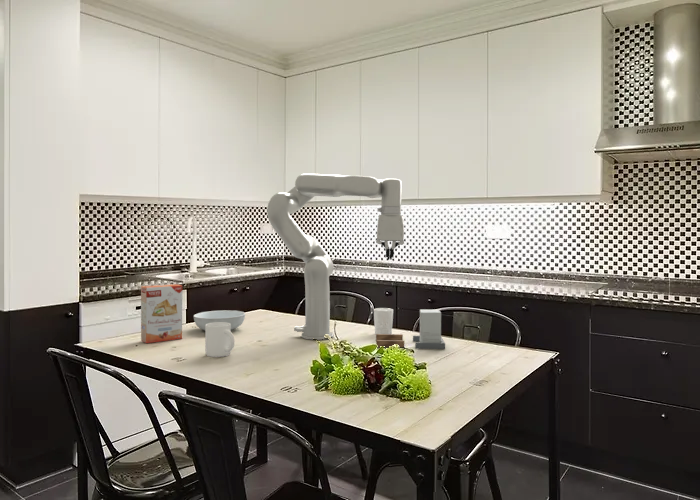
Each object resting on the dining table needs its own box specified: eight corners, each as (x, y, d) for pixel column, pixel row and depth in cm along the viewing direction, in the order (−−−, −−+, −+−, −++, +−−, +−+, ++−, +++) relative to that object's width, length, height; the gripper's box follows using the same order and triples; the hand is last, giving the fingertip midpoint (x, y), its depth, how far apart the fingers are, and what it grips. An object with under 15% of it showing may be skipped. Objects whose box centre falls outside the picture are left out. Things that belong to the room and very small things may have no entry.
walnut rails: (376, 347, 193) (376, 340, 193) (376, 340, 205) (376, 334, 205) (404, 348, 193) (404, 341, 193) (402, 340, 205) (402, 334, 205)
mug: (243, 355, 180) (243, 325, 180) (223, 360, 173) (223, 328, 173) (220, 350, 187) (219, 321, 187) (200, 355, 181) (200, 324, 180)
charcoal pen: (415, 348, 192) (415, 342, 192) (412, 340, 205) (412, 335, 205) (445, 348, 192) (445, 343, 192) (440, 341, 205) (440, 335, 205)
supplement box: (438, 342, 202) (439, 309, 202) (441, 347, 195) (441, 312, 194) (419, 342, 203) (419, 308, 202) (420, 346, 195) (421, 312, 195)
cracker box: (146, 344, 197) (146, 287, 196) (140, 341, 201) (139, 285, 200) (183, 339, 206) (182, 284, 205) (176, 336, 210) (176, 283, 209)
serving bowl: (222, 323, 238) (222, 308, 238) (255, 329, 226) (255, 313, 226) (182, 331, 221) (182, 314, 221) (216, 337, 209) (216, 320, 209)
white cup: (393, 332, 222) (393, 308, 221) (392, 336, 214) (393, 311, 213) (374, 331, 222) (374, 307, 222) (373, 335, 215) (373, 310, 214)
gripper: (371, 210, 201) (369, 259, 202) (411, 211, 201) (409, 260, 201) (371, 211, 209) (370, 258, 210) (410, 212, 208) (408, 259, 209)
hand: (389, 259), depth 206 cm, fingers closed
